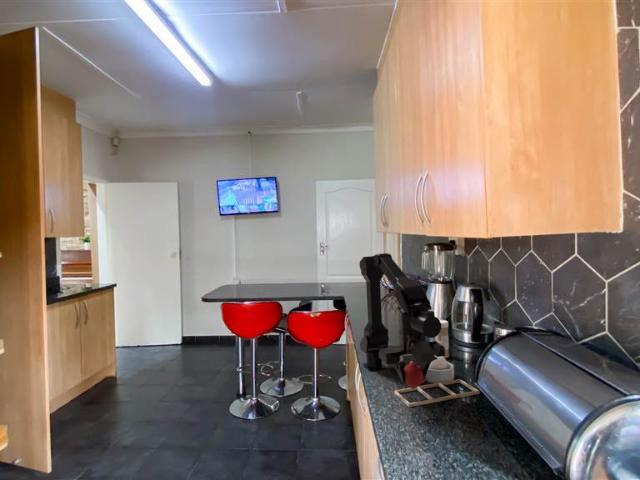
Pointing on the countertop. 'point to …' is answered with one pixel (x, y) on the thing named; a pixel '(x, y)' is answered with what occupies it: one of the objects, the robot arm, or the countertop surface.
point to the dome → (439, 364)
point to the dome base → (440, 374)
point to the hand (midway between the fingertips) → (413, 381)
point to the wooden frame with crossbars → (436, 398)
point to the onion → (413, 375)
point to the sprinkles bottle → (443, 336)
